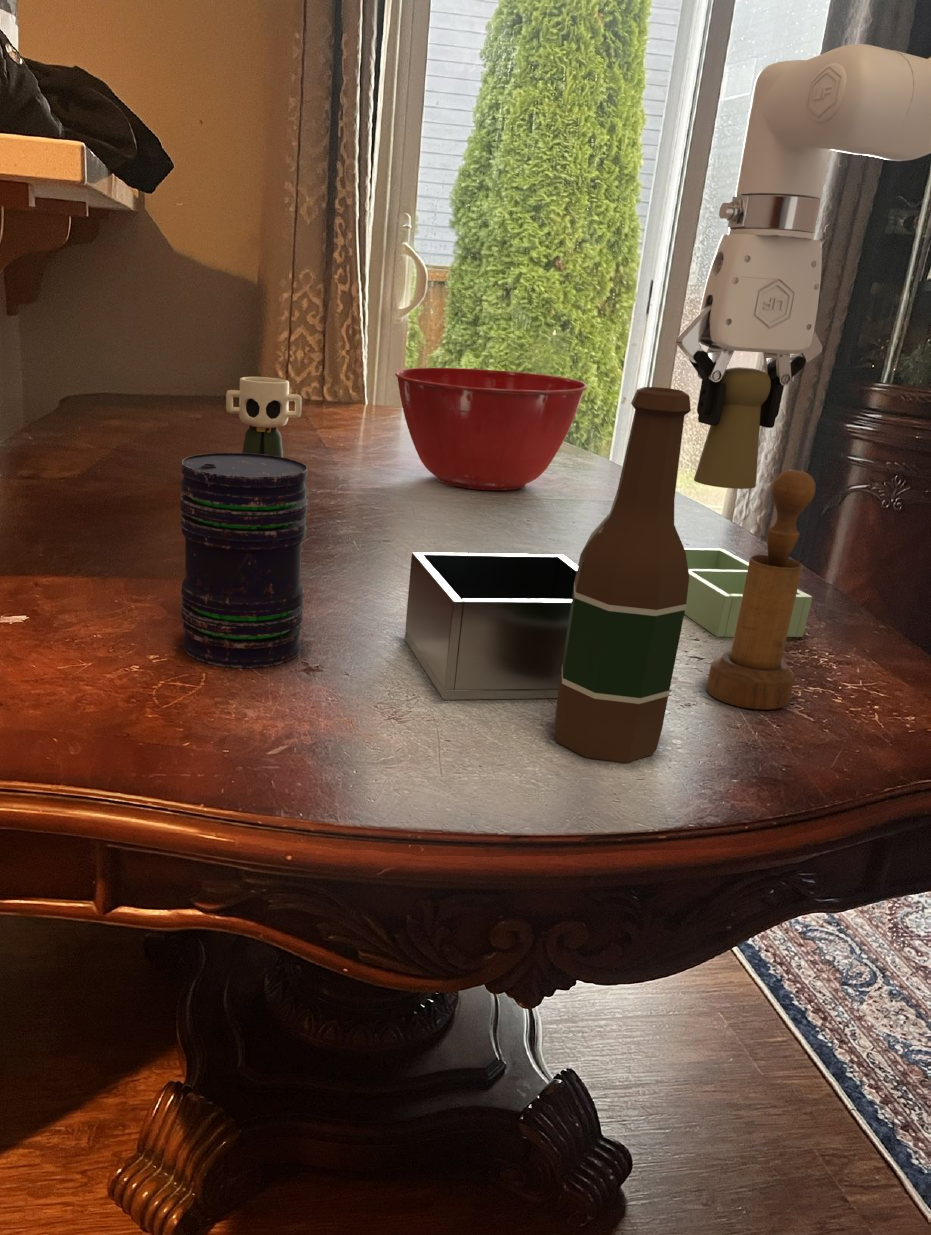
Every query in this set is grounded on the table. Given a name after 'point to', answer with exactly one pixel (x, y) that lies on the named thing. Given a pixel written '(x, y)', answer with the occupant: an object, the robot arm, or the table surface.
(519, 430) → the mixing bowl
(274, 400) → the character mug
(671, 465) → the beer bottle
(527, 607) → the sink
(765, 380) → the cork
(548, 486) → the table surface
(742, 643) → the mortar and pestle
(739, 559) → the divided storage box
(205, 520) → the oil drum
